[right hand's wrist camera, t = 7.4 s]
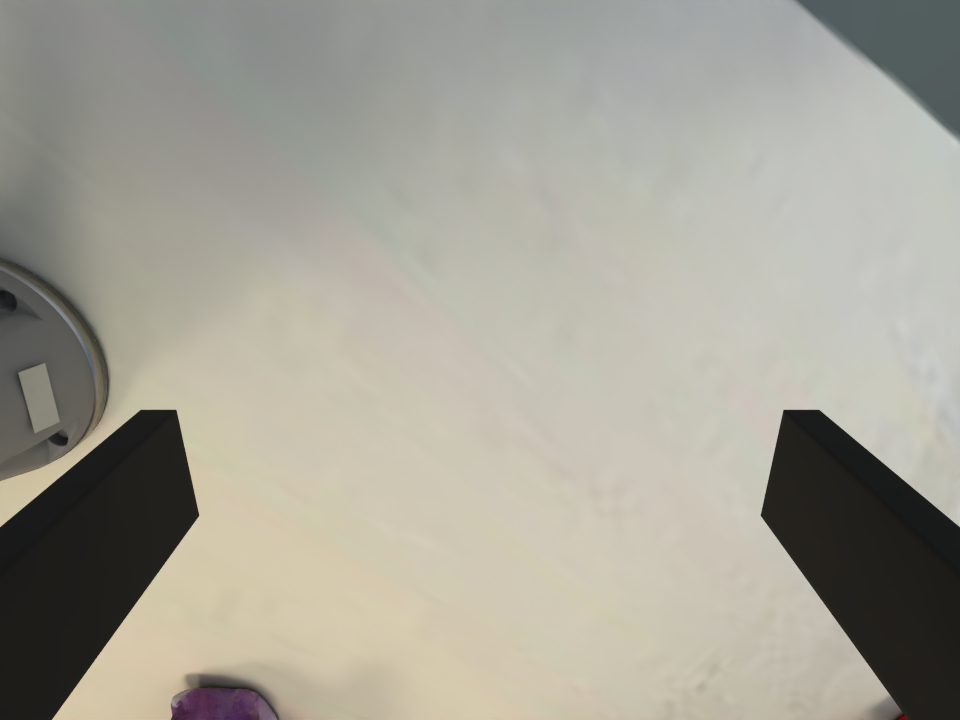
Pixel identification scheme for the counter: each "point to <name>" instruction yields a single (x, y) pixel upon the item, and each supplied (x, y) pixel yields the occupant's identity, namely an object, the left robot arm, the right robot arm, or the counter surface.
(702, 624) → the counter surface
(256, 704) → the figurine
